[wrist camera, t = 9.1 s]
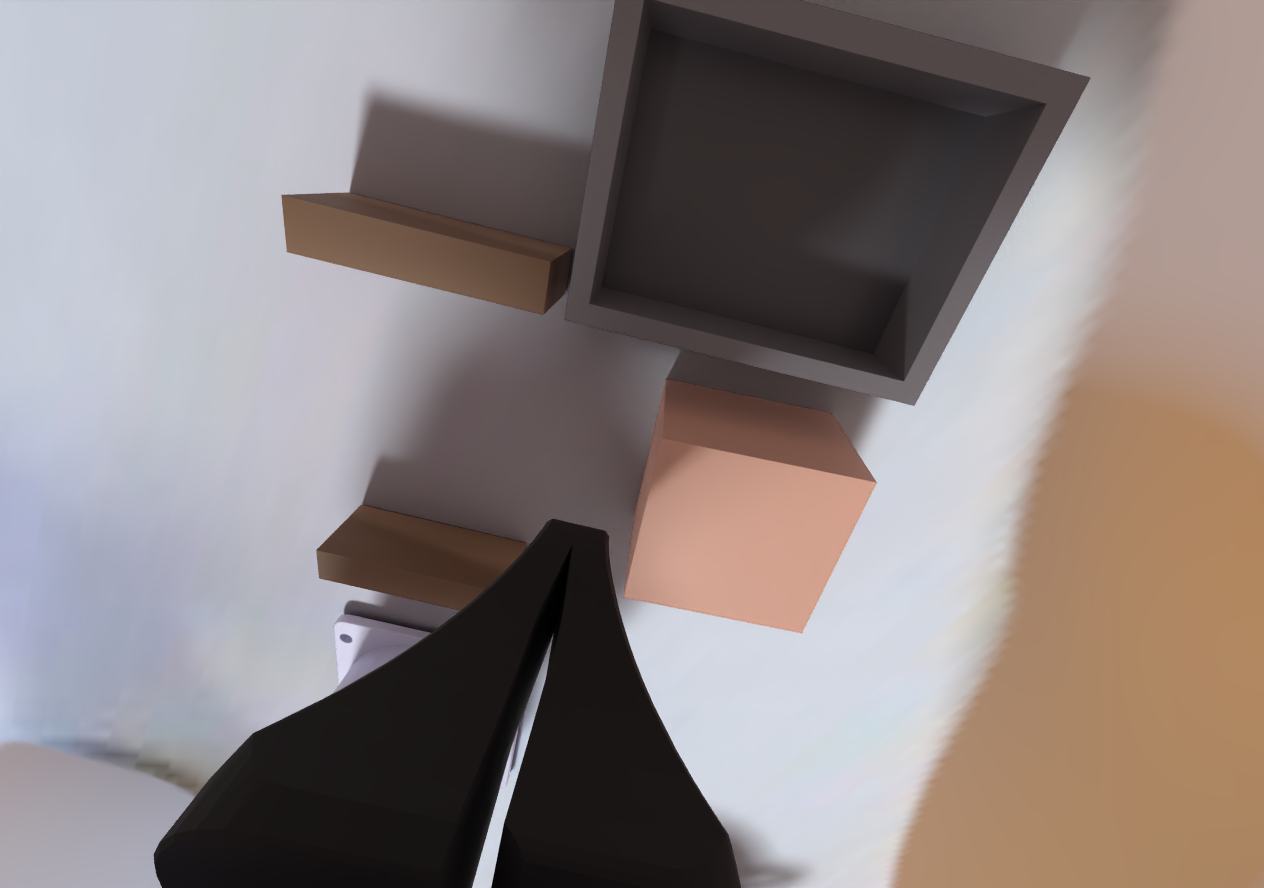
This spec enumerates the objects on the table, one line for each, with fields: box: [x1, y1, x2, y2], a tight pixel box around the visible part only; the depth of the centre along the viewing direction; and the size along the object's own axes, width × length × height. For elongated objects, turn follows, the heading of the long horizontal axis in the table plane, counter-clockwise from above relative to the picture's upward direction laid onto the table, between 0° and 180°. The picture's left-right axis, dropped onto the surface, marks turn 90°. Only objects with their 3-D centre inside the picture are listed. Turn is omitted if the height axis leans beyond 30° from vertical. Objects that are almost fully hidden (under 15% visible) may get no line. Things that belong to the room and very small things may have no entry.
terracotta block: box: [624, 379, 877, 633], centre depth 14 cm, size 5×5×4 cm
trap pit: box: [564, 0, 1090, 406], centre depth 11 cm, size 6×8×2 cm
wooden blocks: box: [282, 193, 572, 610], centre depth 15 cm, size 11×6×2 cm, turn 167°
